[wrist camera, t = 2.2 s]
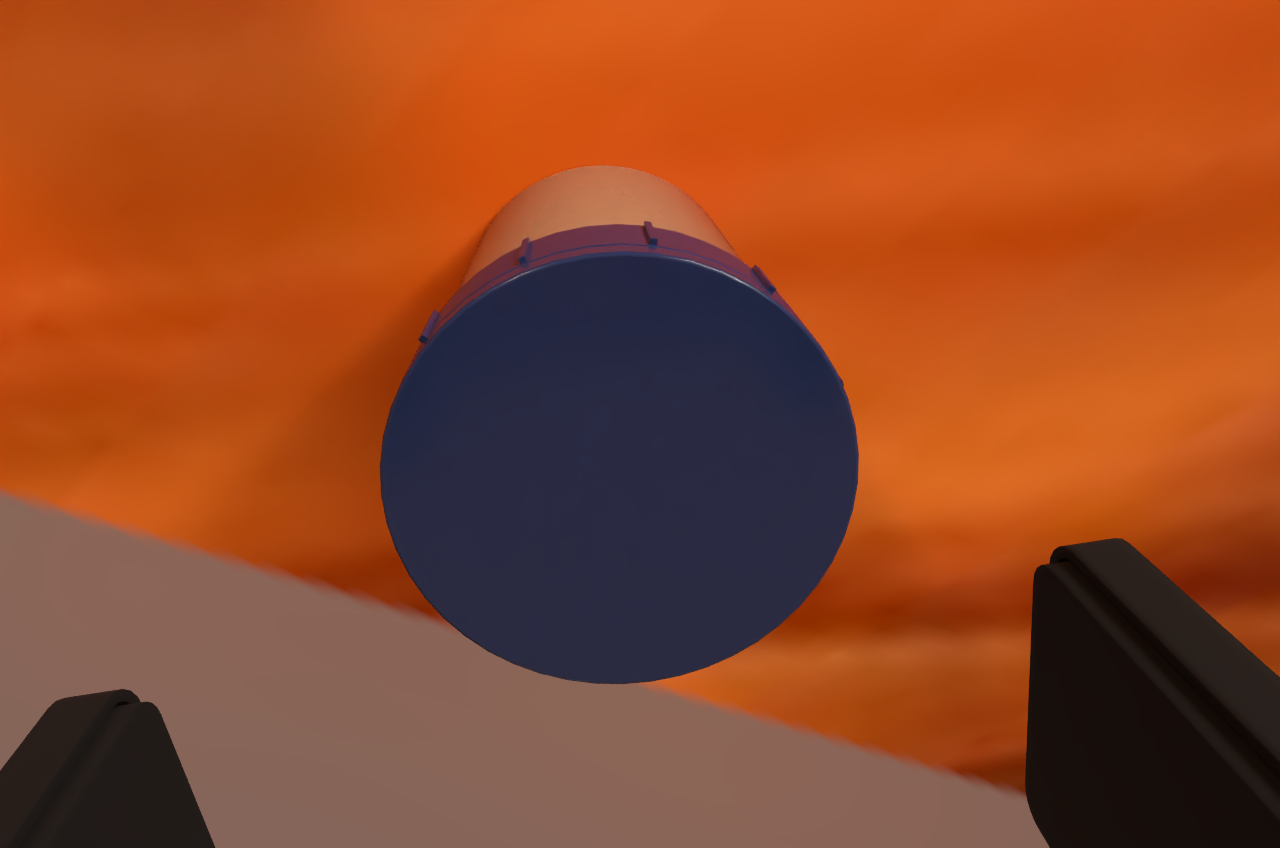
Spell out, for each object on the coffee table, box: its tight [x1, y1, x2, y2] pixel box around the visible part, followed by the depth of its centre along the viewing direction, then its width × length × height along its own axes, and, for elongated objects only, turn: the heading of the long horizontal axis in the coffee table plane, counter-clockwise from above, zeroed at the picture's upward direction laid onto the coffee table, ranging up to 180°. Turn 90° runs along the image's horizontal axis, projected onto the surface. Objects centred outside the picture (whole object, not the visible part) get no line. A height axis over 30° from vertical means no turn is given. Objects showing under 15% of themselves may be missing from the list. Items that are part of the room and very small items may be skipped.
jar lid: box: [380, 221, 859, 684], centre depth 15 cm, size 7×7×2 cm
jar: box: [458, 165, 744, 290], centre depth 19 cm, size 7×7×10 cm
